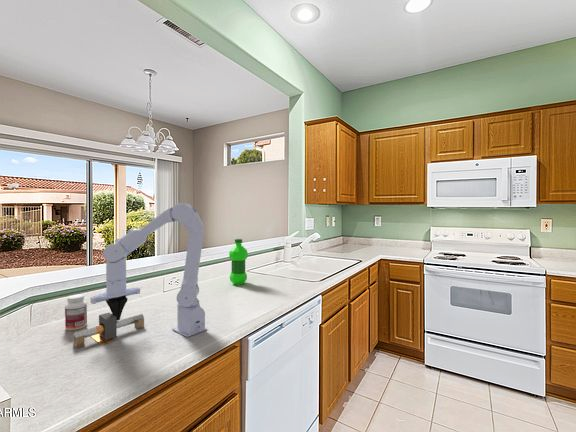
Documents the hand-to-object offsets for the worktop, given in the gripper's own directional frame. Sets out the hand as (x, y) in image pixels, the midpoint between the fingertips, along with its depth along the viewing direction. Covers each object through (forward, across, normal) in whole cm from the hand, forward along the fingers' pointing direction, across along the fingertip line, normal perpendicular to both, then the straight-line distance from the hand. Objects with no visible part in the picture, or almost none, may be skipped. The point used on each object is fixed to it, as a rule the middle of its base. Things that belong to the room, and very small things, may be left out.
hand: (116, 319), depth 96 cm
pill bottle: (+5, +7, -17) cm, 19 cm away
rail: (+5, +2, 0) cm, 5 cm away
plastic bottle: (+5, -69, -17) cm, 72 cm away
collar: (+5, +3, 0) cm, 6 cm away
